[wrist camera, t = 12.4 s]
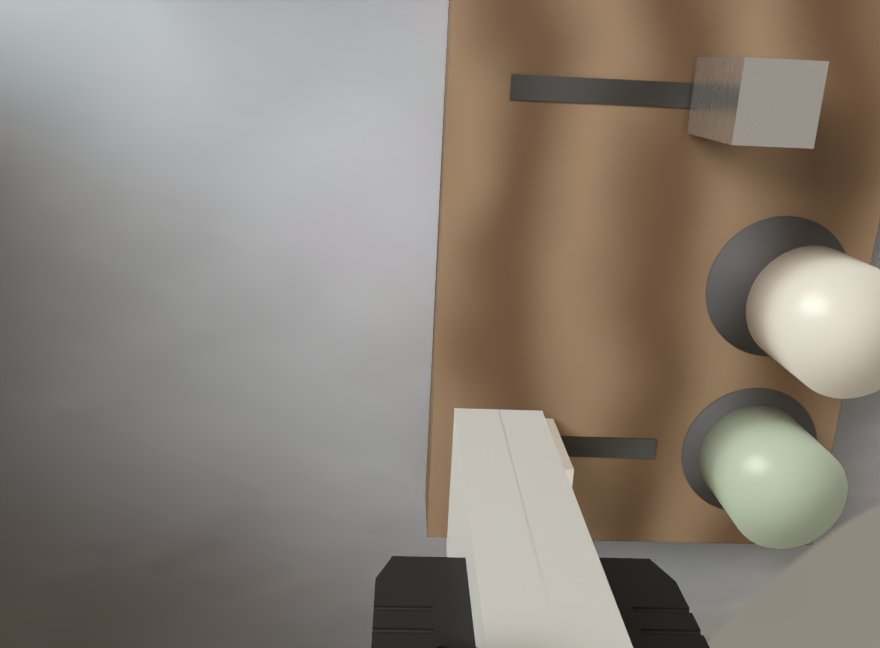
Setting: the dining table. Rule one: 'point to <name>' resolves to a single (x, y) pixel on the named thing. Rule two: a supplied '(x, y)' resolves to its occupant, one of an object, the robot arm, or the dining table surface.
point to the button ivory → (820, 319)
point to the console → (633, 237)
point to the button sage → (773, 477)
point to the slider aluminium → (757, 101)
